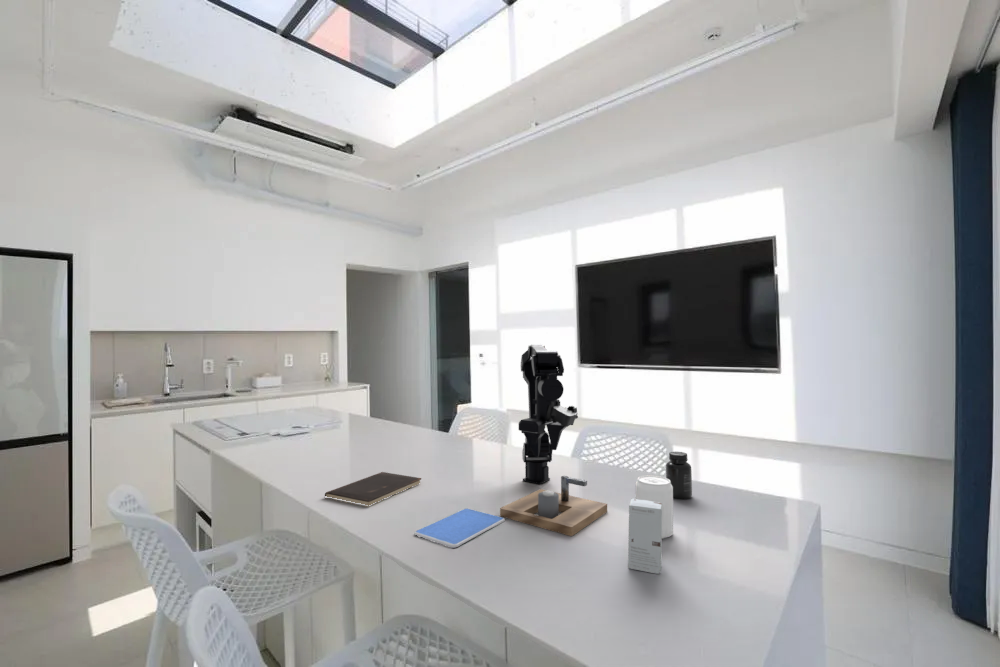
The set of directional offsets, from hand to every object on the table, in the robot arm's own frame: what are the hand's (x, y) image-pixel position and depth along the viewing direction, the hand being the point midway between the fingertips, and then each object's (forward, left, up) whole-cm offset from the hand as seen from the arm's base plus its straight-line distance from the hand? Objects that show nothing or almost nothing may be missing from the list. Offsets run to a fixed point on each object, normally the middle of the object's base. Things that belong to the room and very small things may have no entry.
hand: (545, 453), depth 127 cm
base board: (+7, -7, -13) cm, 16 cm away
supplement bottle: (+28, +26, -13) cm, 40 cm away
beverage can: (+31, -4, -13) cm, 34 cm away
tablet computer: (-6, -28, -14) cm, 32 cm away
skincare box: (+35, -21, -13) cm, 43 cm away
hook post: (+10, -2, -11) cm, 15 cm away
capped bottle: (+7, -10, -13) cm, 18 cm away
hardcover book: (-44, -23, -14) cm, 52 cm away
